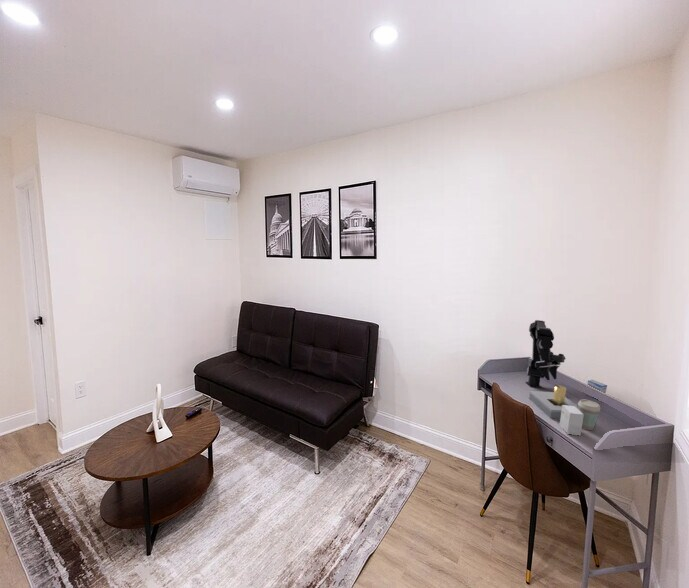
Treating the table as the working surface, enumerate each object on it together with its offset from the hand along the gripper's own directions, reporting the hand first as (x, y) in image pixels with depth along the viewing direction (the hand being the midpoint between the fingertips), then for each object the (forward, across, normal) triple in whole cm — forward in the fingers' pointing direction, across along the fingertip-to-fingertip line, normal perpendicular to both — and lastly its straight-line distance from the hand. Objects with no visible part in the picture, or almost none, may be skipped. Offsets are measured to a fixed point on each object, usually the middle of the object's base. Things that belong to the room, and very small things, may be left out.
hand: (552, 379), depth 175 cm
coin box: (+14, -4, +1) cm, 15 cm away
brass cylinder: (+15, -5, 0) cm, 16 cm away
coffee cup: (+22, -10, -13) cm, 28 cm away
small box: (+23, -20, -9) cm, 32 cm away
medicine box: (+12, +30, -8) cm, 34 cm away
